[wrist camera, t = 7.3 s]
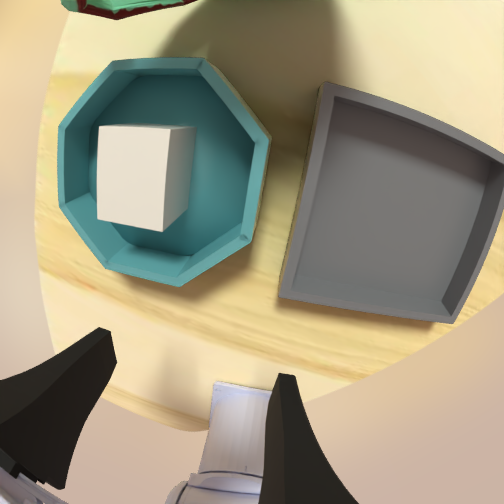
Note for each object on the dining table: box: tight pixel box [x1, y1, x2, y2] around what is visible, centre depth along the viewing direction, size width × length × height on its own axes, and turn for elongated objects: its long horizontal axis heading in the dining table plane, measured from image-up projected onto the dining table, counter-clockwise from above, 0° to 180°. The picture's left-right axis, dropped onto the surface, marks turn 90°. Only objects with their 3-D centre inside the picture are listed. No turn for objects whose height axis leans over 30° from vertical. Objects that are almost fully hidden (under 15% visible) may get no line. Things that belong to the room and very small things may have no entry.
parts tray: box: [278, 82, 504, 324], centre depth 15 cm, size 12×13×2 cm
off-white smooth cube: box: [97, 123, 197, 232], centre depth 15 cm, size 5×4×4 cm
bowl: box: [57, 57, 272, 287], centre depth 16 cm, size 13×13×3 cm
